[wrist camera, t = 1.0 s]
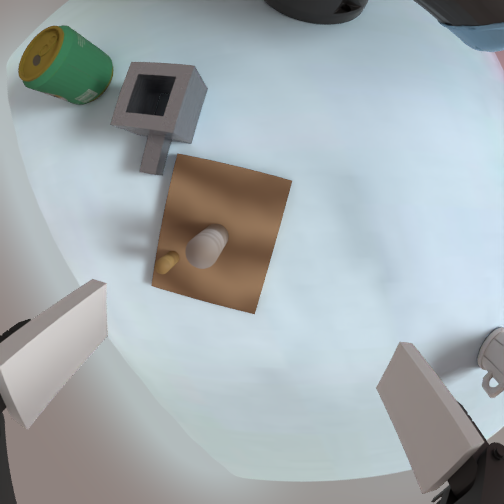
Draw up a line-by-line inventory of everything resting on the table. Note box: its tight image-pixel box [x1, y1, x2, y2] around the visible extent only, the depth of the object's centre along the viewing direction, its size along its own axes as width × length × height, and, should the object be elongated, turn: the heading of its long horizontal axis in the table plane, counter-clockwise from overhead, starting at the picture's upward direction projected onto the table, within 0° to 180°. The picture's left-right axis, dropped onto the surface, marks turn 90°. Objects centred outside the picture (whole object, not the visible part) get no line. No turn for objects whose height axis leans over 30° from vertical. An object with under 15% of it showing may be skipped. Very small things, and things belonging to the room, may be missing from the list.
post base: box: [152, 154, 292, 314], centre depth 28 cm, size 16×13×9 cm
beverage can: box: [18, 26, 113, 104], centre depth 22 cm, size 8×8×12 cm
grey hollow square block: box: [110, 62, 208, 175], centre depth 26 cm, size 11×7×7 cm, turn 166°
